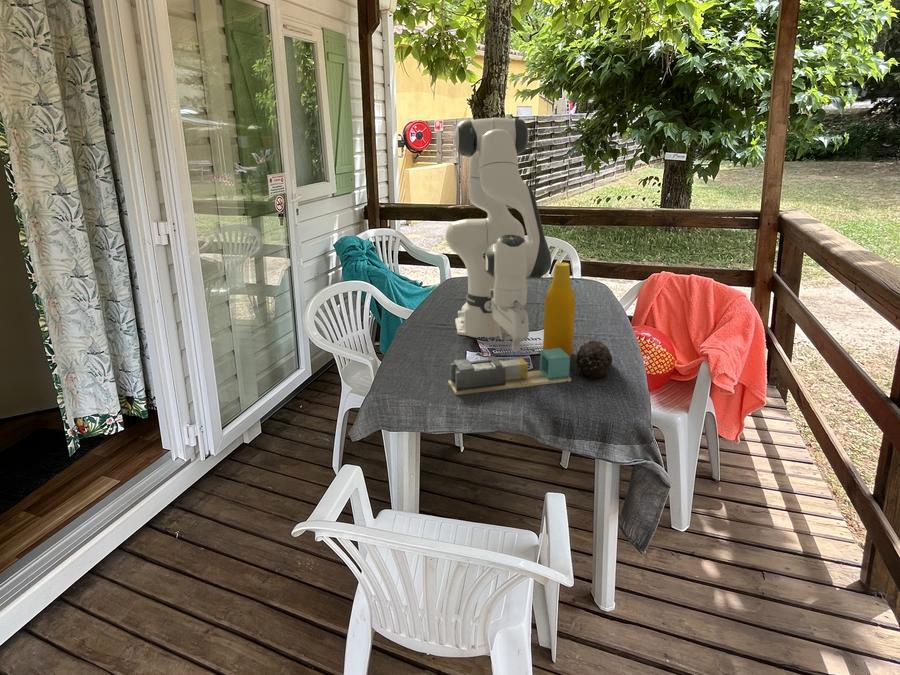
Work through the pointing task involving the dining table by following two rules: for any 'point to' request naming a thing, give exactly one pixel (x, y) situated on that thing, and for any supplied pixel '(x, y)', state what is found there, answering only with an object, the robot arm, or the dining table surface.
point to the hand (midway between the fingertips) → (509, 345)
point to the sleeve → (477, 374)
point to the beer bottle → (559, 311)
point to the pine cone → (593, 361)
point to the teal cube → (554, 363)
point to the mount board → (515, 383)
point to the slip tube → (507, 368)
